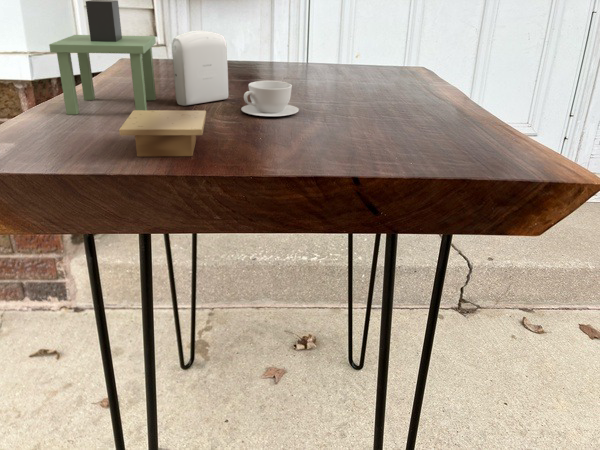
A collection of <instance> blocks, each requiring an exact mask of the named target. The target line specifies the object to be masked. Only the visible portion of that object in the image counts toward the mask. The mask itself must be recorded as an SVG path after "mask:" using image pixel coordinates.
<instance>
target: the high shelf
mask: <svg viewBox="0 0 600 450" xmlns="http://www.w3.org/2000/svg"><path fill="white" fill-rule="evenodd" d="M156 43H157V41H156V36H153V35H122V39H120V40H118V41H117V42H96V41H91V39H90V34H73V35H70V36H67V37H65V38H62V39H59V40H57V41H55V42H52V43H49V44H48V46H49V52H50V53H56V57H57V63H58V69H59V77H60V82H61V88H62V94H63V95H62V96H63V101H64V107H65V113H66V115H67V116H70V115H72V116H74V115H78V114H79V113H80V108H79V101H78V95H77V94H78V93H77V87H76V81H75V75H74V74H75V73H74V67H73V61H72V55H71V54H73V53H74V54H77V62H78V69H79V75H80V82H81V88H82V94H83V100H84V101H94V100H95V99H96V95H95V88H94V80H93V73H92V65H91V57H90V54H123V55H124V54H125V55H126V54H128V55H129V60H130V69H131V80H132V88H133V89H132V90H133V98H134V99H133V101H134V108H135V109H134V110H148V107H147V106H148V105H147V101H156V99H157V94H156V93H157V92H156V81H155V70H154V69H155V68H154V57H153V46H154V45H156Z"/></svg>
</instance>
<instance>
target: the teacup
mask: <svg viewBox="0 0 600 450" xmlns="http://www.w3.org/2000/svg"><path fill="white" fill-rule="evenodd" d="M292 89H293V85H292V84H291V83H290V82H285V81H280V80H279V81H278V80H257V81H252V82H249V83H248V90H247V91H246V92H244V94H243V100H244V102H245V104H246V105H243V106H242V107H241V109H240V110H241V111H242V112H243V113H245V114H248V115H252V116H259V117H285V116H290V115H294V114H297V113H298V112H299V110H300V109H299V108H298V107H297V106H294V105H291V104H289V103H290V101H291V97H292ZM248 97H249V99H250V101H249V100H248Z"/></svg>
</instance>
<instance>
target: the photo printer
mask: <svg viewBox="0 0 600 450" xmlns="http://www.w3.org/2000/svg"><path fill="white" fill-rule="evenodd" d="M171 55H172V68H173V69H172V70H173V80H174V93H175V100H176V103H177V105H179V106H183V107H187V106H192V105H198V104H203V103H210V102H217V101H222V100H227V99H228V98H229V70H228V46H227V41H226V38H225V37H224V35H223V34H221V33H218V32H215V31H211V30H205V29H204V30H202V29H201V30H200V29H199V30H190V31H186V32H183V33H181V34H178V35H176V36H175V37H173V39H172V42H171Z"/></svg>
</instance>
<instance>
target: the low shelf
mask: <svg viewBox="0 0 600 450" xmlns="http://www.w3.org/2000/svg"><path fill="white" fill-rule="evenodd" d="M206 120H207V111H206V110H181V109H180V110H178V109H177V110H174V109H173V110H171V109H170V110H166V109H165V110H164V109H163V110H159V109H158V110H157V109H155V110H154V109H152V110H149V109H147V110H136V109H134V110H132V111H131V113H130V114H129V115H128V117H127V118H126V120H125V121H124V122H123V124H122V125H121V126H120V127H119V129H118V132H119V136H134V139H135V150H136V157H140V158H141V157H150V158H151V157H193V156H194V152H195V146H196V143H197V136H203V134H204V130H205V129H204V128H205V123H206Z"/></svg>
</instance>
